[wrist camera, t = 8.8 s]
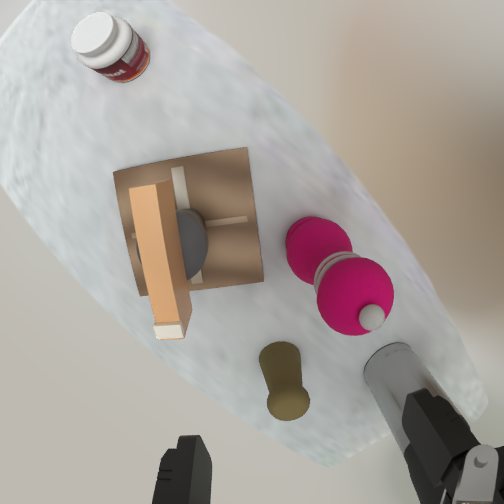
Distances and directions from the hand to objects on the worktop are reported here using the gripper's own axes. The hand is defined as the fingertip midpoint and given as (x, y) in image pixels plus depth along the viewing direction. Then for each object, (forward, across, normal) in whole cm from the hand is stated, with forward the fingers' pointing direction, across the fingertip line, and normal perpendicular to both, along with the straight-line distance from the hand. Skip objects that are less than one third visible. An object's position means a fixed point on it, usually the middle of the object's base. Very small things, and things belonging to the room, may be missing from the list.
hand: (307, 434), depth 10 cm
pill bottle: (+28, +12, -26) cm, 40 cm away
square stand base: (+28, +8, -4) cm, 30 cm away
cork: (+29, 0, +17) cm, 34 cm away
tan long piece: (+20, +8, -4) cm, 22 cm away
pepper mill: (+28, -6, +1) cm, 29 cm away
